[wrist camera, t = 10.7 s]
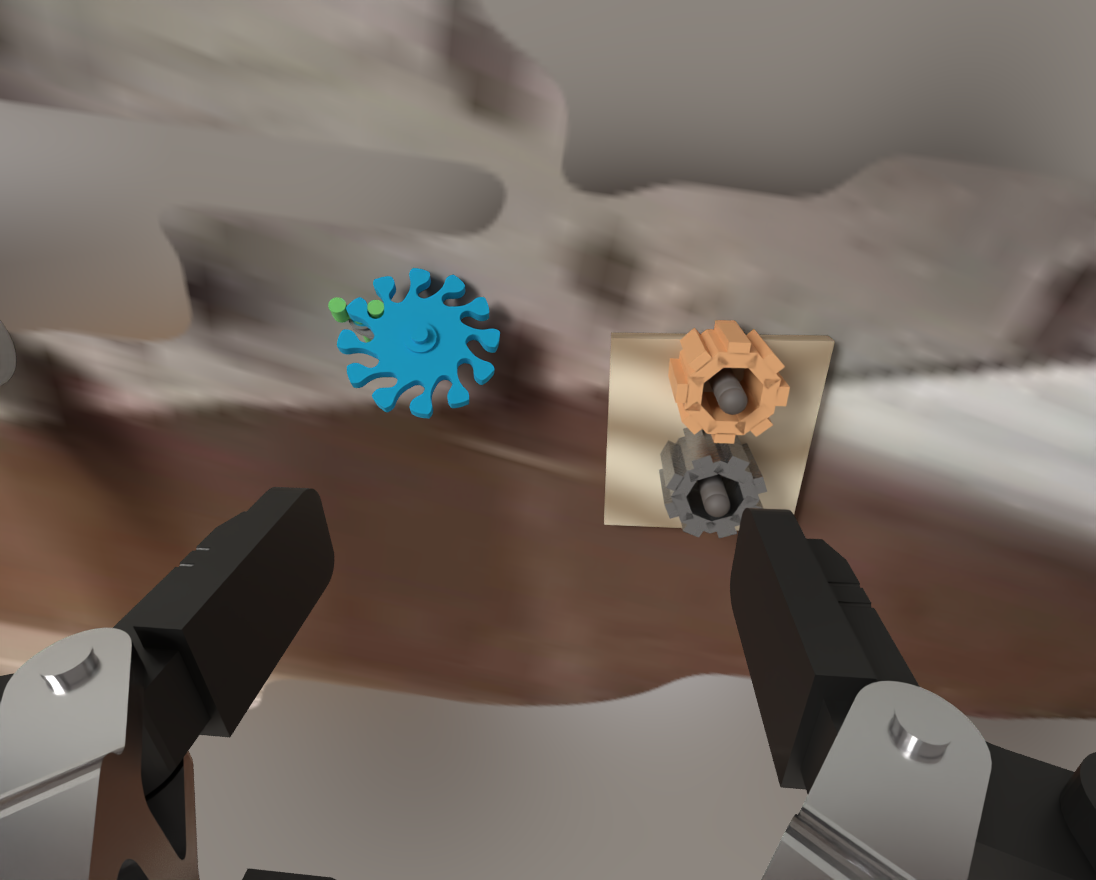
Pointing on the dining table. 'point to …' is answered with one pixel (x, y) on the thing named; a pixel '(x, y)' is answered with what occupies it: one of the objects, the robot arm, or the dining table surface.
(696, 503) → the gear
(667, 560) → the dining table surface
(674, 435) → the peg board
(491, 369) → the blue sprocket wheel
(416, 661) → the dining table surface
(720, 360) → the gear
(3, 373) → the white and black mug
